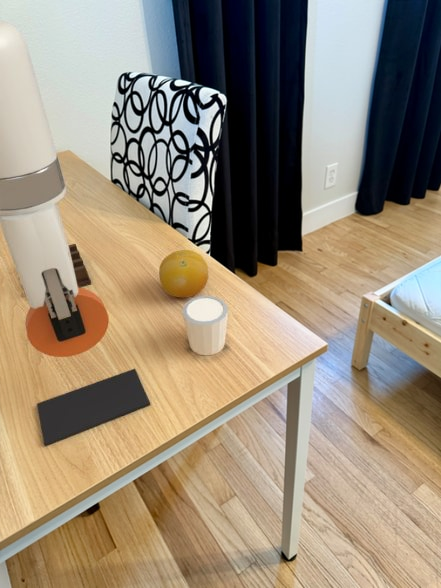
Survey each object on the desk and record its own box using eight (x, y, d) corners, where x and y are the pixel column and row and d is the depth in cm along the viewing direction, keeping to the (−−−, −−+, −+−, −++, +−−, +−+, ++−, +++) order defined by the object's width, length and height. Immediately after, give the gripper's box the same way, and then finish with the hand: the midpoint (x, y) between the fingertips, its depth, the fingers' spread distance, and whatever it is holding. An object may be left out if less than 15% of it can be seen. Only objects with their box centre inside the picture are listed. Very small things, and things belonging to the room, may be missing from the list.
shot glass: (177, 349, 67) (173, 315, 63) (199, 323, 72) (196, 290, 68) (216, 364, 65) (214, 330, 60) (236, 335, 69) (235, 302, 65)
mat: (45, 446, 54) (44, 443, 54) (37, 406, 59) (36, 403, 59) (150, 405, 59) (150, 402, 59) (135, 371, 64) (134, 368, 64)
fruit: (167, 310, 75) (162, 272, 70) (157, 284, 81) (151, 248, 76) (215, 298, 77) (213, 261, 72) (201, 274, 83) (199, 238, 78)
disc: (40, 367, 51) (15, 309, 45) (38, 358, 52) (14, 300, 46) (115, 342, 53) (100, 284, 48) (111, 334, 55) (97, 277, 49)
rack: (36, 299, 78) (31, 284, 76) (29, 269, 86) (24, 254, 84) (91, 284, 81) (87, 269, 79) (79, 256, 89) (75, 241, 87)
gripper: (-27, 162, 43) (29, 302, 55) (-22, 230, 32) (47, 388, 44) (49, 148, 46) (87, 285, 57) (78, 207, 35) (119, 363, 46)
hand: (69, 329), depth 50 cm, fingers closed on disc, 1 cm apart
